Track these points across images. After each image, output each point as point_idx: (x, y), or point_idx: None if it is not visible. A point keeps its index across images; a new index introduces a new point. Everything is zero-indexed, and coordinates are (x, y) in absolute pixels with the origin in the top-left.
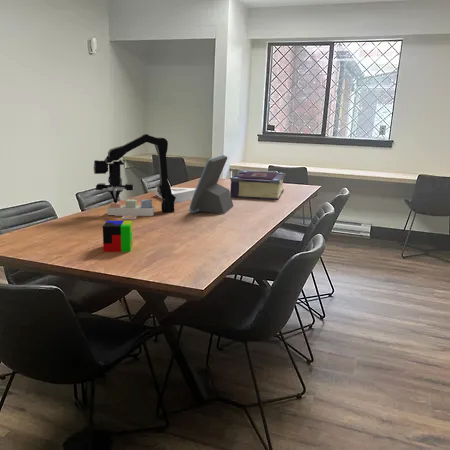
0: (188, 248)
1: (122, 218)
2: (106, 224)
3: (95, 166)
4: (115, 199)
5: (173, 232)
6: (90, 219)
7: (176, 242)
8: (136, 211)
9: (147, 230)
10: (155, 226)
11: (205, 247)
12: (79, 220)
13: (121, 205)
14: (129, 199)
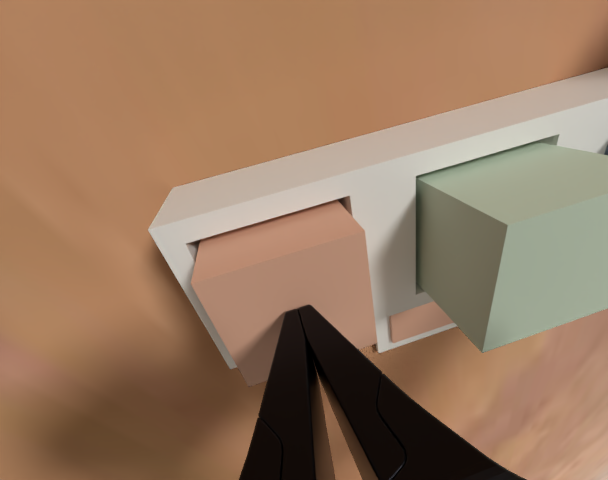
0: (569, 472)
1: (383, 349)
2: None
3: None
4: (315, 377)
5: (581, 413)
6: (183, 429)
7: (558, 462)
8: None
9: (505, 431)
10: (542, 387)
11: (604, 456)
12: (134, 466)
13: (335, 176)
14: (555, 216)
